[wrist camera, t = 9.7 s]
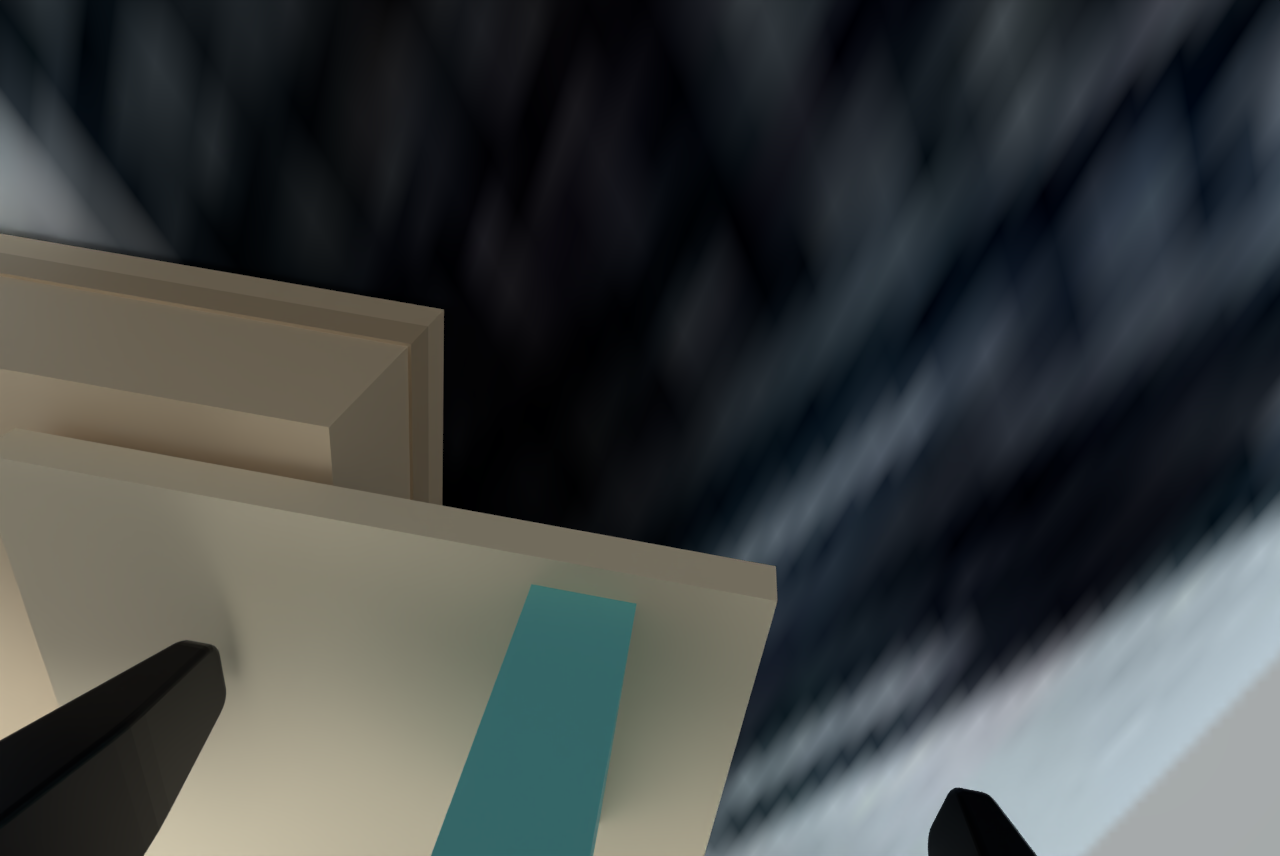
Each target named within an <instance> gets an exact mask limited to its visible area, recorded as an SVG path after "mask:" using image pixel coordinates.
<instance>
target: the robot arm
mask: <svg viewBox="0 0 1280 856" xmlns="http://www.w3.org/2000/svg"><path fill="white" fill-rule="evenodd" d="M225 700H226V685H225V680H224V674H223V669H222V663H221V658H220V653H219V650H218V649H217V648H216V647H215V646H214V645H212V644H207V643H202V642H196V641H191V640H182V641H179V642H176V643H174V644H172V645H171V646H169V647H167V648H165V649H163V650H162V651H160V652H158V653H156V654H154V655H153V656H151V657H149V658H147V659H145V660H144V661H142V662H140V663H138V664H136V665H135V666H133V667H131V668H129V669H127V670H126V671H124V672H122V673H120V674H118V675H117V676H115V677H113V678H111V679H109V680H108V681H106V682H104V683H102V684H100V685H99V686H97V687H95V688H93V689H91V690H89V691H88V692H86V693H84V694H82V695H80V696H79V697H77V698H75V699H73V700H71V701H70V702H68V703H66V704H64V705H62V706H61V707H59V708H57V709H55V710H53V711H52V712H50V713H48V714H46V715H44V716H43V717H41V718H39V719H37V720H35V721H34V722H32V723H30V724H28V725H26V726H25V727H23V728H21V729H19V730H17V731H16V732H14V733H12V734H10V735H8V736H7V737H5V738H3V739H1V740H0V856H144V855H145V853H146V852H147V850H148V848H149V847H150V845H151V844H152V842H153V840H154V839H155V837H156V835H157V834H158V832H159V831H160V829H161V827H162V825H163V823H164V821H165V820H166V818H167V816H168V814H169V812H170V811H171V809H172V807H173V805H174V803H175V801H176V799H177V797H178V795H179V793H180V791H181V789H182V787H183V785H184V783H185V781H186V780H187V778H188V776H189V774H190V772H191V770H192V768H193V766H194V764H195V762H196V760H197V758H198V756H199V754H200V752H201V750H202V748H203V747H204V745H205V743H206V741H207V739H208V737H209V735H210V733H211V731H212V729H213V727H214V725H215V723H216V721H217V719H218V717H219V716H220V714H221V711H222V709H223V707H224V704H225ZM928 856H1037V855H1036V854H1035V852H1034V851H1033V850H1032V848H1031V847H1030V846H1029V845H1028V843H1027V842H1026V841H1025V839H1024V838H1023V837H1022V835H1021V834H1020V833H1019V831H1018V830H1017V829H1016V828H1015V826H1014V825H1013V824H1012V822H1011V821H1010V820H1009V818H1008V817H1007V816H1006V814H1005V813H1004V812H1003V811H1002V809H1001V808H1000V807H999V805H998V804H997V803H996V801H995V800H994V799H993V798H992V797H990V796H989V795H988V794H986V793H983V792H979V791H974V790H968V789H963V788H954V789H952V790H951V791H950V792H949V793H948V795H947V797H946V799H945V801H944V803H943V805H942V807H941V809H940V811H939V812H938V814H937V816H936V818H935V820H934V822H933V824H932V826H931V829H930V832H929V838H928Z"/></svg>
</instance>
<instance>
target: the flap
mask: <svg viewBox="0 0 1280 856" xmlns="http://www.w3.org/2000/svg"><path fill="white" fill-rule="evenodd" d="M0 535H1V538H2V541H3V544H4V546H5V549H6V552H7V555H8V558H9V561H10V564H11V567H12V570H13V573H14V576H15V579H16V582H17V585H18V588H19V591H20V594H21V597H22V599H23V602H24V605H25V608H26V611H27V614H28V617H29V620H30V623H31V626H32V629H33V632H34V635H35V638H36V641H37V644H38V647H39V650H40V652H41V655H42V658H43V661H44V664H45V667H46V670H47V673H48V676H49V679H50V682H51V685H52V688H53V691H54V694H55V697H56V700H57V703H58V705H59V707H61V706H62V705H64V704H66V703H68V702H70V701H71V700H73V699H75V698H77V697H79V696H80V695H82V694H84V693H86V692H88V691H89V690H91V689H93V688H95V687H97V686H99V685H100V684H102V683H104V682H106V681H108V680H109V679H111V678H113V677H115V676H117V675H118V674H120V673H122V672H124V671H126V670H127V669H129V668H131V667H133V666H135V665H136V664H138V663H140V662H142V661H144V660H145V659H147V658H149V657H151V656H153V655H154V654H156V653H158V652H160V651H162V650H163V649H165V648H167V647H169V646H171V645H172V644H174V643H176V642H179V641H182V640H191V641H196V642H202V643H207V644H212V645H214V646H215V647H216V648H217V649H218V650H219V653H220V658H221V663H222V669H223V674H224V680H225V685H226V700H225V704H224V707H223V709H222V711H221V714H220V716H219V717H218V719H217V721H216V723H215V725H214V727H213V729H212V731H211V733H210V735H209V737H208V739H207V741H206V743H205V745H204V747H203V748H202V750H201V752H200V754H199V756H198V758H197V760H196V762H195V764H194V766H193V768H192V770H191V772H190V774H189V776H188V778H187V780H186V781H185V783H184V785H183V787H182V789H181V791H180V793H179V795H178V797H177V799H176V801H175V803H174V805H173V807H172V809H171V811H170V812H169V814H168V816H167V818H166V820H165V821H164V823H163V825H162V827H161V829H160V831H159V832H158V834H157V835H156V837H155V839H154V840H153V842H152V844H151V845H150V847H149V848H148V850H147V852H146V853H145V855H144V856H704V855H705V851H706V848H707V844H708V841H709V837H710V834H711V830H712V827H713V823H714V820H715V816H716V813H717V809H718V806H719V803H720V799H721V796H722V792H723V789H724V785H725V782H726V778H727V775H728V771H729V768H730V764H731V761H732V757H733V754H734V750H735V747H736V743H737V740H738V737H739V733H740V730H741V726H742V723H743V719H744V716H745V712H746V709H747V705H748V702H749V698H750V695H751V691H752V688H753V684H754V681H755V677H756V674H757V671H758V667H759V664H760V660H761V657H762V653H763V650H764V646H765V643H766V639H767V636H768V632H769V629H770V625H771V622H772V618H773V615H774V611H775V608H776V604H777V581H776V566H772V565H766V564H761V563H755V562H750V561H744V560H739V559H733V558H728V557H722V556H717V555H711V554H706V553H700V552H695V551H689V550H684V549H678V548H673V547H667V546H662V545H656V544H651V543H645V542H640V541H634V540H629V539H623V538H618V537H612V536H607V535H601V534H596V533H590V532H585V531H579V530H574V529H568V528H563V527H557V526H552V525H546V524H541V523H535V522H530V521H524V520H519V519H513V518H508V517H502V516H497V515H491V514H486V513H480V512H475V511H469V510H464V509H458V508H453V507H447V506H442V505H436V504H431V503H425V502H420V501H414V500H409V499H404V498H398V497H393V496H387V495H382V494H376V493H371V492H365V491H360V490H354V489H349V488H343V487H338V486H332V485H327V484H321V483H316V482H310V481H305V480H299V479H294V478H288V477H283V476H277V475H272V474H266V473H261V472H255V471H250V470H244V469H239V468H233V467H228V466H222V465H217V464H211V463H206V462H200V461H195V460H189V459H184V458H178V457H173V456H167V455H162V454H156V453H151V452H145V451H140V450H134V449H129V448H123V447H118V446H112V445H107V444H101V443H96V442H90V441H85V440H79V439H74V438H68V437H63V436H57V435H52V434H46V433H41V432H36V431H30V430H25V429H19V428H15V429H13V430H12V431H10V432H8V433H6V434H5V435H3V436H1V437H0Z"/></svg>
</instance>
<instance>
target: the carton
mask: <svg viewBox="0 0 1280 856" xmlns="http://www.w3.org/2000/svg"><path fill="white" fill-rule="evenodd" d="M443 368H444V309H438V308H432V307H426V306H420V305H415V304H409V303H403V302H397V301H391V300H385V299H379V298H374V297H368V296H362V295H356V294H350V293H344V292H339V291H333V290H327V289H321V288H315V287H309V286H304V285H298V284H292V283H286V282H280V281H274V280H269V279H263V278H257V277H251V276H245V275H239V274H234V273H228V272H222V271H216V270H210V269H204V268H199V267H193V266H187V265H181V264H175V263H169V262H163V261H158V260H152V259H146V258H140V257H134V256H128V255H123V254H117V253H111V252H105V251H99V250H93V249H88V248H82V247H76V246H70V245H64V244H58V243H53V242H47V241H41V240H35V239H29V238H23V237H18V236H12V235H6V234H0V437H1V436H3V435H5V434H6V433H8V432H10V431H12V430H13V429H15V428H19V429H25V430H30V431H36V432H41V433H46V434H52V435H57V436H63V437H68V438H74V439H79V440H85V441H90V442H96V443H101V444H107V445H112V446H118V447H123V448H129V449H134V450H140V451H145V452H151V453H156V454H162V455H167V456H173V457H178V458H184V459H189V460H195V461H200V462H206V463H211V464H217V465H222V466H228V467H233V468H239V469H244V470H250V471H255V472H261V473H266V474H272V475H277V476H283V477H288V478H294V479H299V480H305V481H310V482H316V483H321V484H327V485H332V486H338V487H343V488H349V489H354V490H360V491H365V492H371V493H376V494H382V495H387V496H393V497H398V498H404V499H409V500H414V501H420V502H425V503H431V504H436V505H442V487H443ZM57 708H59V705H58V703H57V700H56V697H55V694H54V691H53V688H52V685H51V682H50V679H49V676H48V673H47V670H46V667H45V664H44V661H43V658H42V655H41V652H40V650H39V647H38V644H37V641H36V638H35V635H34V632H33V629H32V626H31V623H30V620H29V617H28V614H27V611H26V608H25V605H24V602H23V599H22V597H21V594H20V591H19V588H18V585H17V582H16V579H15V576H14V573H13V570H12V567H11V564H10V561H9V558H8V555H7V552H6V549H5V546H4V544H3V541H2V538H1V535H0V740H1V739H3V738H5V737H7V736H8V735H10V734H12V733H14V732H16V731H17V730H19V729H21V728H23V727H25V726H26V725H28V724H30V723H32V722H34V721H35V720H37V719H39V718H41V717H43V716H44V715H46V714H48V713H50V712H52V711H53V710H55V709H57Z"/></svg>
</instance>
